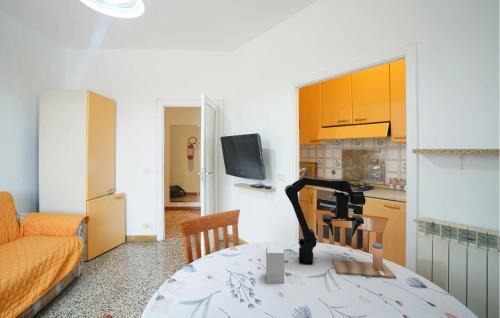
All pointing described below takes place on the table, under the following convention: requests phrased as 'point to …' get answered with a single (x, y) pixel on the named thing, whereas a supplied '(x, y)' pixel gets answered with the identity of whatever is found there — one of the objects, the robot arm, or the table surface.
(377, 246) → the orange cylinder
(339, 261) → the board
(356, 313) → the table surface
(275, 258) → the supplement box
